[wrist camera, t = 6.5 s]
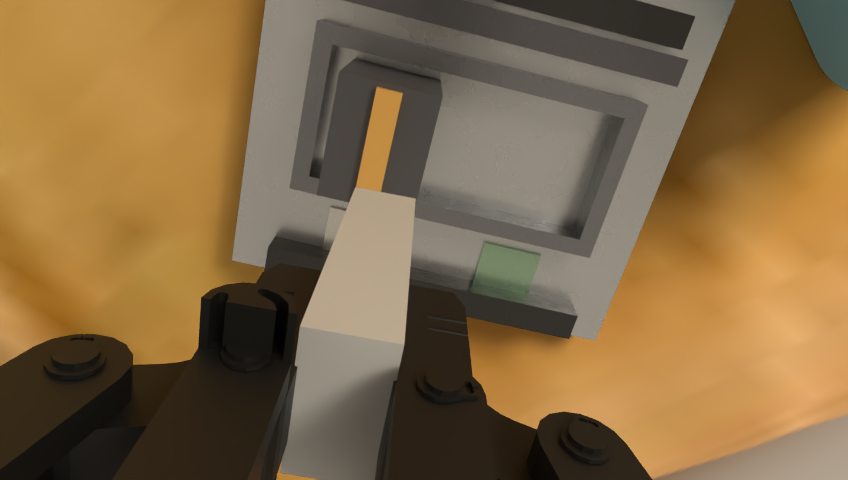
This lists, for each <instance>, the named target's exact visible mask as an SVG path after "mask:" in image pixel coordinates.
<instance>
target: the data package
mask: <svg viewBox="0 0 848 480" xmlns="http://www.w3.org/2000/svg"><path fill="white" fill-rule="evenodd" d="M790 1H791V3H792V5H793V8H794V10H795V12H796V14H797V17H798V19H799V21H800V24H801V26H802V28H803V30H804V33H805V35H806V37H807V39H808V42H809V44H810V46H811V48H812V51H813V53H814V55H815V58H816V60H817V62H818V64H819V66H820V67H821V69H822V70H823V72H824V73H825V74H826V75H827V76H828V78H829V79H830V80H832V81H833V82H834V83H835V84H836V85H838V86H839V87H841V88H843V89H845V90H848V0H790Z"/></svg>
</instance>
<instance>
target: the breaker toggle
mask: <svg viewBox="0 0 848 480" xmlns="http://www.w3.org/2000/svg"><path fill="white" fill-rule="evenodd" d="M442 98H443V95H442V86H441V80H439V79H435V78H431V77H427V76H423V75H419V74H415V73H411V72H407V71H403V70H399V69H395V68H391V67H387V66H383V65H379V64H375V63H371V62H367V61H363V60H359V59H354V60H352V61H351V62H350V63H349V64H348V65H346V66H345V67H344V68H343V69H341V70H340V71H339V75H338V80H337V86H336V91H335V97H334V102H333V108H332V113H331V119H330V124H329V130H328V135H327V141H326V146H325V152H324V157H323V163H322V168H321V174H320V179H319V185H318V190H317V195H318V196H323V197H327V198H331V199H336V200H340V201H344V202H350V199H351V197H352V194H353V192H354V189H355V187H357V188H363V189H368V190H373V191H378V192H384V193H389V194H394V195H399V196H405V197H410V198H415V199H416V202H417V198H418V194H419V190H420V186H421V182H422V178H423V174H424V170H425V166H426V162H427V158H428V154H429V150H430V146H431V142H432V138H433V134H434V130H435V126H436V122H437V118H438V114H439V110H440V106H441V102H442ZM416 202H415V206H416Z"/></svg>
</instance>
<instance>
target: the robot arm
mask: <svg viewBox="0 0 848 480" xmlns="http://www.w3.org/2000/svg"><path fill="white" fill-rule="evenodd" d="M415 202H416V199H415V198H410V197H405V196H399V195H394V194H389V193H384V192H378V191H373V190H368V189H363V188H357V187H355V189H354V192H353V194H352V197H351V199H350V202H349V204H348V207H347V209H346V212H345V215H344V217H343V220H342V222H341V225H340V227H339V230H338V232H337V235H336V237H335V240H334V242H333V245H332V247H331V250H330V252H329V255H328V257H327V260H326V262H325V265H324V267H323V270H322V271H320V270H315V269H309V268H304V267H298V266H293V265H287V264H282V263H279V264H277V265H276V266H274V267H272V268H270V269H268V270H266V271H265V272H263V273H262V274H261V276H260V278H259V279H258V281H257V283H256V284H255V283H236V284H226V285H223V286H220V287H217V288H215V289H212V290H210V291H209V292H208V293H206V294H205V295H204V296H203V297H201V312H200V329H199V346H198V349H197V351H196V352H195V354H194V356H193V357H192V359H191V360H187V361H183V362H178V363H168V364H148V365H133V354H132V353H131V351H130V350H129V348H128V347H127V345H126V344H124V343H122V342H120V341H118V340H116V339H114V338H112V337H107V336H101V335H96V334H76V335H69V336H64V337H59V338H55V339H51V340H49V341H46V342H44V343H42V344H39V345H37V346H35V347H32V348H31V349H29V350H27V351H26V352H24V353H22V354H20V355H19V356H17V357H15V358H14V359H12V360H10V361H8V362H7V363H5V364H3V365H2V366H0V480H276V477H277V473H278V470H279V466H280V463H281V460H282V464H281V472H280V473H284V474H290V475H296V476H303V477H309V478H315V479H322V480H652V479H651V477H650V476H649V474H648V473H647V472H646V470H645V469H644V468H643V466H642V465H641V463H640V462H639V461H638V459H637V458H636V457H635V455H634V454H633V452H632V451H631V450H630V448H629V447H628V446H627V444H626V443H625V442H624V441H623V440H622V439H621V438H620V437H619V436H618V435H617V434H616V433H615V432H614V431H613V430H611V429H610V428H608V427H607V426H605V425H604V424H602V423H601V422H599V421H597V420H595V419H592V418H589V417H587V416H584V415H582V414H576V413H569V412H559V413H552V414H549V415H547V416H546V417H545V418H543V419H542V420H540V423H539V426H538V428H537V430H536V429H534V428H531V427H529V426H526V425H524V424H521V423H519V422H516V421H514V420H512V419H510V418H507V417H505V416H503V415H501V414H500V413H498V412H497V411H495V410H494V409H492V408H491V407H489V406H488V405H487V400H486V395H485V393H484V390H483V388H482V386H481V384H480V383H479V382H478V381H477V380H476V379H475V378H474V377H472V367H471V358H470V349H469V340H468V336H467V335H468V330H467V324H466V322H467V321H466V312H465V306H464V305H463V304H462V303H461V301H460V300H459V299H458V298H457V296H456V295H455V294H454V293H452V292H447V291H441V290H436V289H430V288H425V287H419V286H414V285H409V279H410V266H411V253H412V241H413V228H414V215H415Z"/></svg>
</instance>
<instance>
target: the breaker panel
mask: <svg viewBox="0 0 848 480" xmlns="http://www.w3.org/2000/svg"><path fill="white" fill-rule="evenodd" d="M735 1H736V0H266V1H265V9H264V17H263V24H262V32H261V40H260V48H259V55H258V63H257V71H256V78H255V86H254V94H253V101H252V109H251V117H250V124H249V132H248V140H247V147H246V155H245V163H244V171H243V178H242V186H241V194H240V201H239V209H238V217H237V224H236V232H235V240H234V247H233V255H232V261H237V262H241V263H246V264H250V265H255V266H259V267H264V268H265V270H264V272H265V271H266V270H268V269H270V268H272V267H274V266H276V265H277V264H279V263H282V264H287V265H293V266H298V267H304V268H309V269H315V270H320V271H322V270H323V267H324V265H325V262H326V260H327V257H328V255H329V252H330V250H331V247H332V245H333V242H334V240H335V237H336V235H337V232H338V230H339V227H340V225H341V222H342V220H343V217H344V215H345V212H346V209H347V207H348V204H349V202H344V201H340V200H336V199H331V198H327V197H323V196H318V195H317V190H318V185H319V179H320V174H321V168H322V163H323V157H324V152H325V146H326V141H327V135H328V130H329V124H330V119H331V113H332V108H333V102H334V97H335V91H336V86H337V80H338V75H339V71H340V70H341V69H343V68H344V67H345V66H346V65H348V64H349V63H350V62H351V61H352V60H354V59H359V60H363V61H367V62H371V63H375V64H379V65H383V66H387V67H391V68H395V69H399V70H403V71H407V72H411V73H415V74H419V75H423V76H427V77H431V78H435V79H439V80H441V86H442V95H443V98H442V102H441V106H440V110H439V114H438V118H437V122H436V126H435V130H434V134H433V138H432V142H431V146H430V150H429V154H428V158H427V162H426V166H425V170H424V174H423V178H422V182H421V186H420V190H419V194H418V198H417V202H416V206H415V215H414V228H413V241H412V253H411V266H410V279H409V285H414V286H419V287H425V288H430V289H436V290H441V291H447V292H452V293H454V294H455V295H456V296H457V298H458V299H459V300H460V301H461V303H462V304H463V305H464V306H465V312H466V316H467V317H471V318H476V319H480V320H485V321H489V322H494V323H499V324H503V325H508V326H512V327H517V328H521V329H526V330H530V331H535V332H540V333H544V334H549V335H553V336H558V337H562V338H567V339H569V338H570V335H572V336H577V337H581V338H586V339H590V340H596V337H597V335H598V333H599V330H600V328H601V325H602V323H603V320H604V318H605V316H606V313H607V311H608V308H609V306H610V303H611V301H612V299H613V296H614V294H615V291H616V289H617V287H618V284H619V282H620V279H621V277H622V274H623V272H624V270H625V267H626V265H627V262H628V260H629V257H630V255H631V253H632V250H633V248H634V245H635V243H636V240H637V238H638V236H639V233H640V231H641V228H642V226H643V224H644V221H645V219H646V216H647V214H648V211H649V209H650V207H651V204H652V202H653V199H654V197H655V194H656V192H657V190H658V187H659V185H660V182H661V180H662V177H663V175H664V173H665V170H666V168H667V165H668V163H669V161H670V158H671V156H672V153H673V151H674V148H675V146H676V144H677V141H678V139H679V136H680V134H681V131H682V129H683V127H684V124H685V122H686V119H687V117H688V114H689V112H690V110H691V107H692V105H693V102H694V100H695V98H696V95H697V93H698V90H699V88H700V85H701V83H702V81H703V78H704V76H705V73H706V71H707V68H708V66H709V64H710V61H711V59H712V56H713V54H714V51H715V49H716V47H717V44H718V42H719V39H720V37H721V35H722V32H723V30H724V27H725V25H726V22H727V20H728V18H729V15H730V13H731V10H732V8H733V5H734V3H735Z"/></svg>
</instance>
